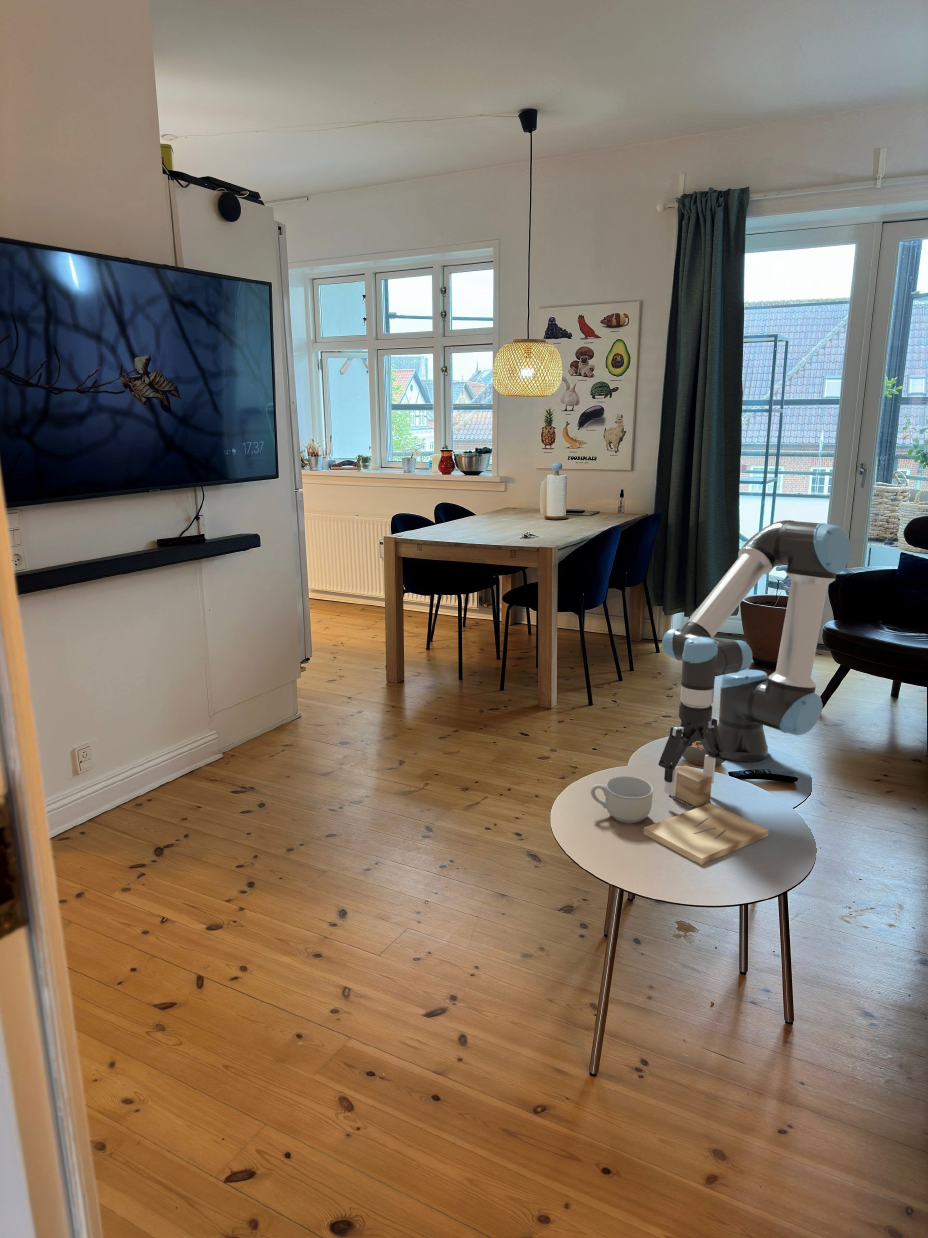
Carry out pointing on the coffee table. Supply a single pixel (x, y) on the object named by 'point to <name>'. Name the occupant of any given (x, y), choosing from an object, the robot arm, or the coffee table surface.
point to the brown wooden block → (693, 787)
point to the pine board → (705, 833)
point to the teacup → (626, 798)
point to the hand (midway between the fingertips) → (689, 787)
